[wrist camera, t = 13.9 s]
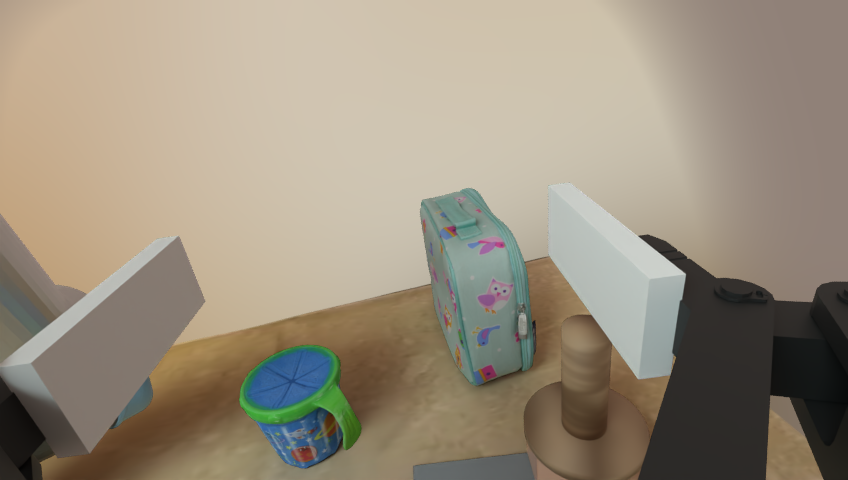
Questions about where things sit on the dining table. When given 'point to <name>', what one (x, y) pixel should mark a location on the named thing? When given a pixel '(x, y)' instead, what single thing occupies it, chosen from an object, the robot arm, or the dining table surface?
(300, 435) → the snack cup
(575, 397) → the paper towel holder
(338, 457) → the dining table surface
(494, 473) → the mat
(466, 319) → the lunch box
